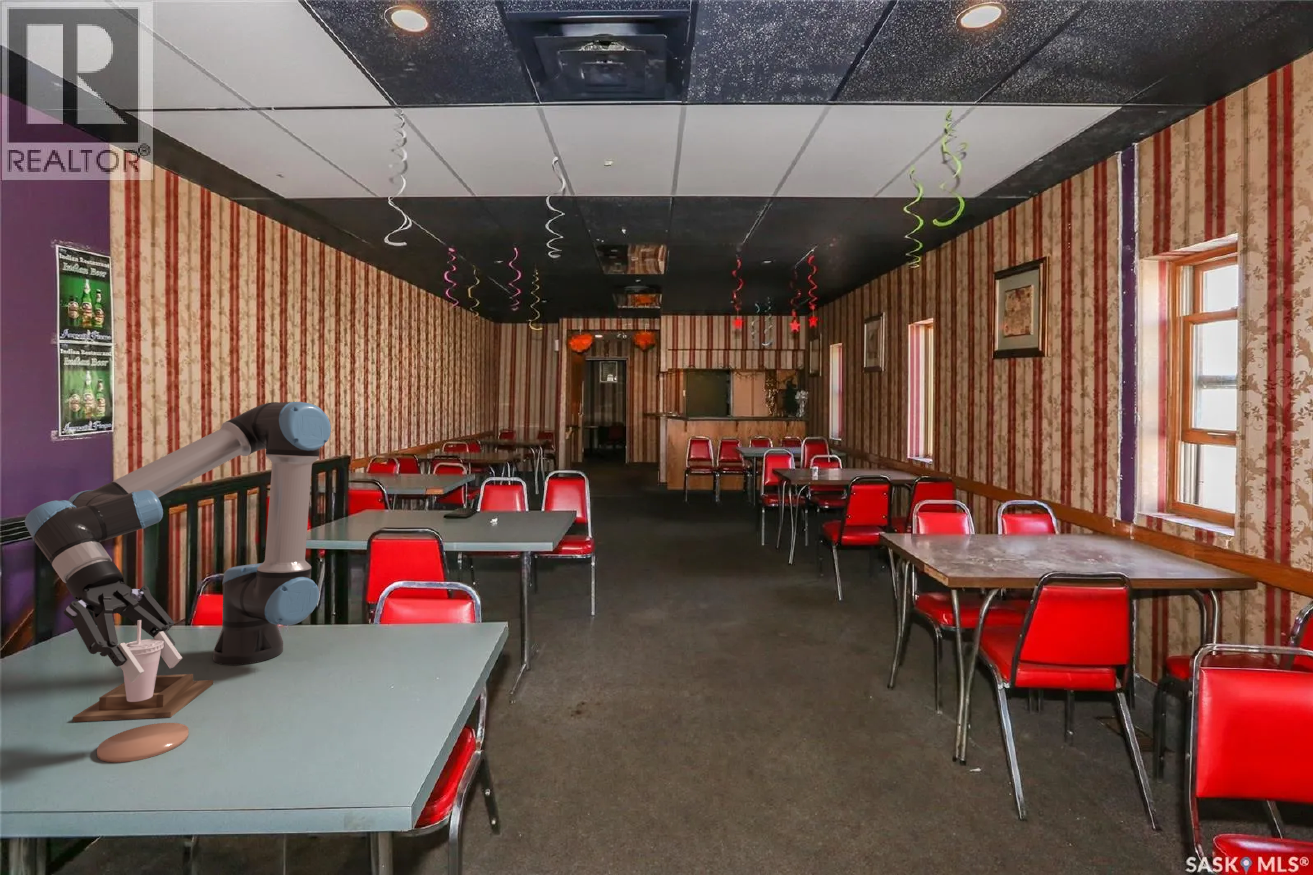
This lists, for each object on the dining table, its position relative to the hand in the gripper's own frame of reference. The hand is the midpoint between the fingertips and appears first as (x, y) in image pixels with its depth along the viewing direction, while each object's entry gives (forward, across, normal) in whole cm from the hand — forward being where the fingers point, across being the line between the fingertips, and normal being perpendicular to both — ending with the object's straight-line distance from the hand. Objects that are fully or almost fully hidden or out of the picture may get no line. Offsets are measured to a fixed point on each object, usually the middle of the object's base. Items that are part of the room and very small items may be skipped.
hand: (157, 669), depth 115 cm
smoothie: (+1, 0, -7) cm, 7 cm away
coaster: (+8, -1, -12) cm, 15 cm away
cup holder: (-4, -15, -24) cm, 29 cm away
